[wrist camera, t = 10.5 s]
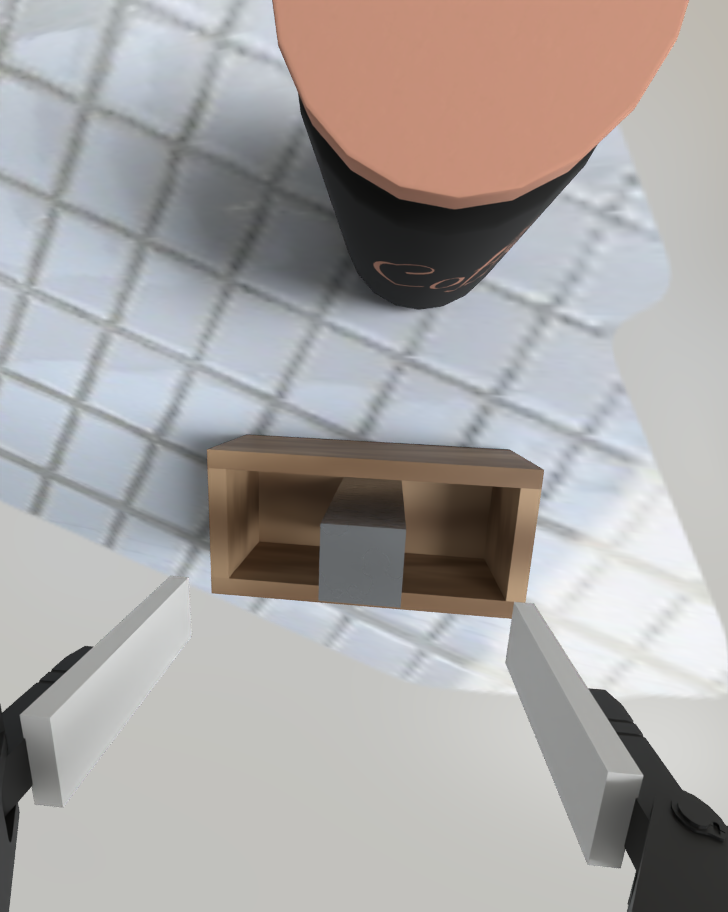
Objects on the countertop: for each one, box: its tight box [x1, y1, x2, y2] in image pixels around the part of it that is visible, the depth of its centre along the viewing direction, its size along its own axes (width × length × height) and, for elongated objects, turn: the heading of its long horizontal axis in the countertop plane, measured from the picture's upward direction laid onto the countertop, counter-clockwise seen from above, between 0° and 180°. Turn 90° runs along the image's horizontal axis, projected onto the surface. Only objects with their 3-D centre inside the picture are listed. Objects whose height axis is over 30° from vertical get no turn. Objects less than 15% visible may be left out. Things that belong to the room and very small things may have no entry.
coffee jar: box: [272, 0, 689, 309], centre depth 18 cm, size 11×11×18 cm
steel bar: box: [318, 477, 406, 608], centre depth 25 cm, size 4×4×10 cm
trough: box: [207, 435, 544, 619], centre depth 28 cm, size 10×21×7 cm, turn 87°
